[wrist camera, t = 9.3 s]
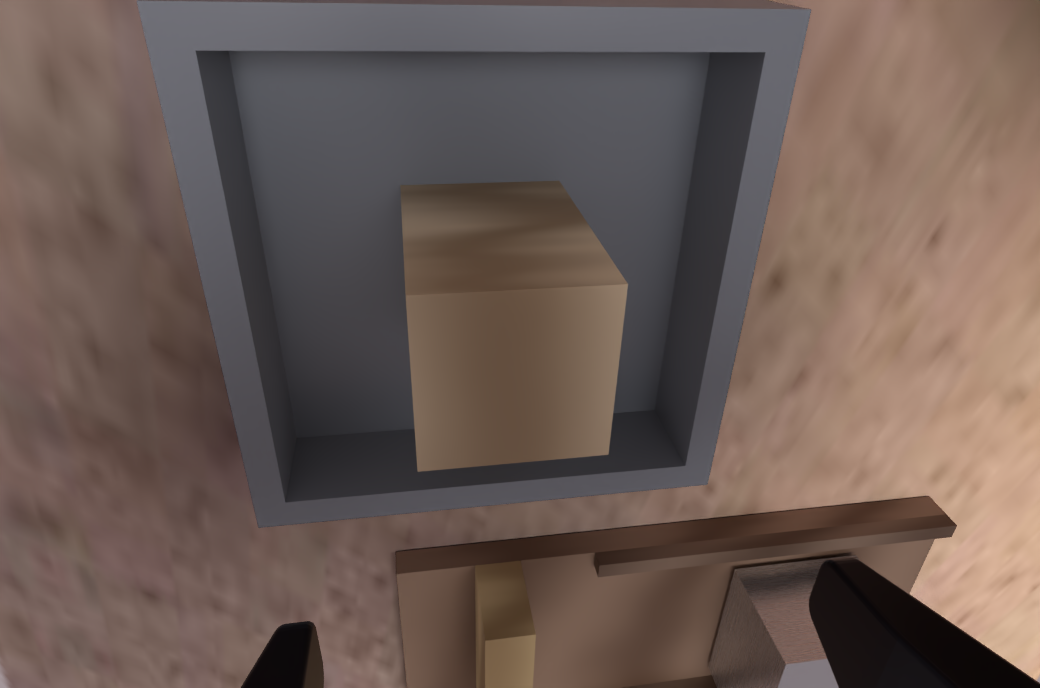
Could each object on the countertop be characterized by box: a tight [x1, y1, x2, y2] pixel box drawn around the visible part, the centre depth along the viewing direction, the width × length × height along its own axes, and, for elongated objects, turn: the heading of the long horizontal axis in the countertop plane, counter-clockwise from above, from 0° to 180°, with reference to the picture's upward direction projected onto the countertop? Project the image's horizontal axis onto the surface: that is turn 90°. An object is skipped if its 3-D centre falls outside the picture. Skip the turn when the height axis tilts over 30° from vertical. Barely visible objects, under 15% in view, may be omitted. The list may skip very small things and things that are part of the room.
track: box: [396, 496, 957, 688], centre depth 27 cm, size 21×9×4 cm, turn 89°
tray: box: [137, 0, 811, 528], centre depth 18 cm, size 13×13×4 cm
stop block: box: [400, 181, 628, 472], centre depth 16 cm, size 4×4×6 cm
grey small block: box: [708, 555, 859, 688], centre depth 27 cm, size 5×6×4 cm
